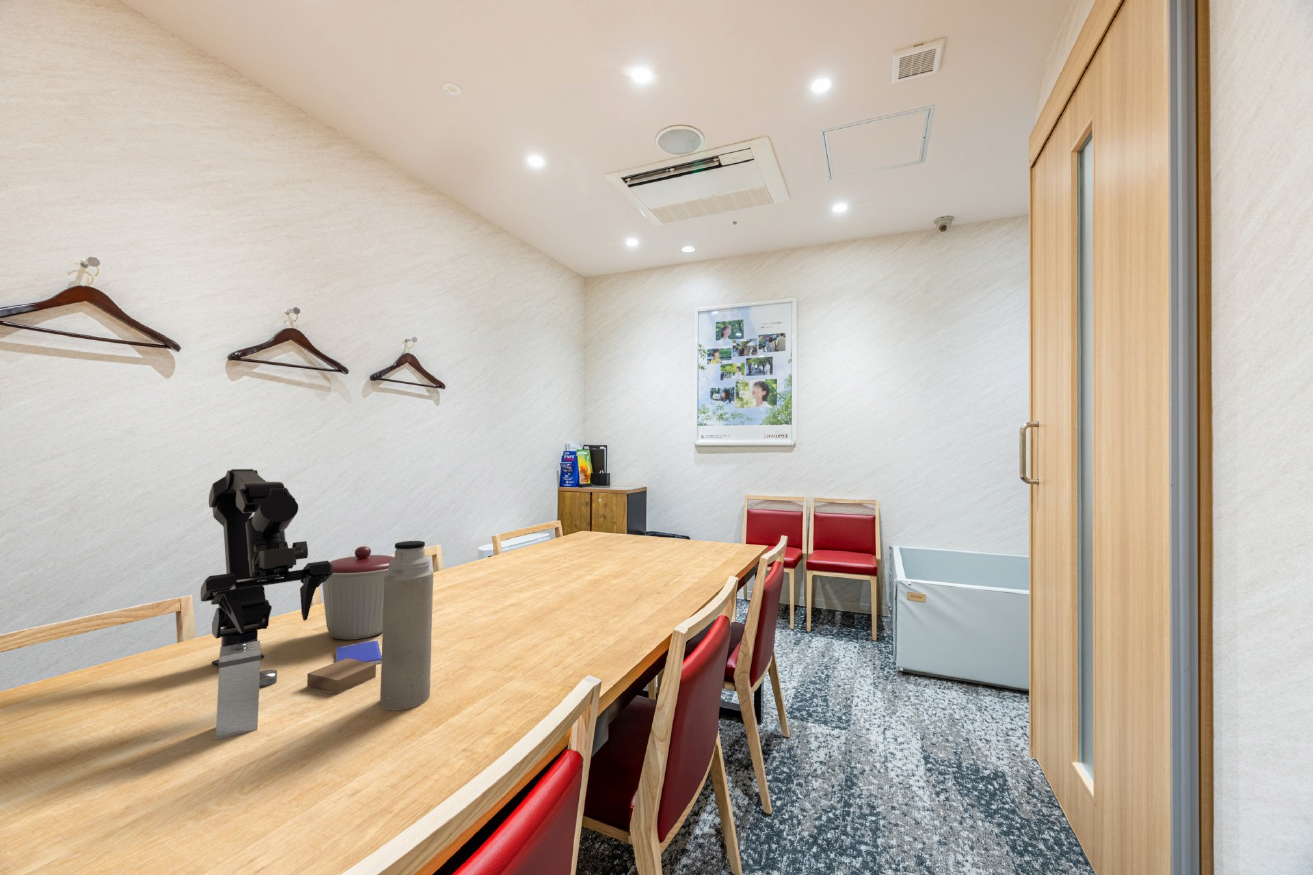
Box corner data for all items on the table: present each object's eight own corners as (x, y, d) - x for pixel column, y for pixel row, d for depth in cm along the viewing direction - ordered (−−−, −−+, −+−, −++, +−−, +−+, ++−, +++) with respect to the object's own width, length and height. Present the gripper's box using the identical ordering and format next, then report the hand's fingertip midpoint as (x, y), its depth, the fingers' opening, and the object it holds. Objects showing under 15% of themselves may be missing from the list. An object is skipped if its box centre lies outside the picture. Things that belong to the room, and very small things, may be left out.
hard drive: (336, 646, 113) (336, 666, 102) (377, 639, 117) (382, 657, 107) (335, 653, 113) (336, 674, 102) (377, 646, 117) (382, 665, 107)
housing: (216, 726, 81) (220, 643, 81) (256, 716, 84) (260, 636, 85) (215, 740, 77) (219, 652, 78) (257, 729, 80) (261, 645, 81)
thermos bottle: (405, 686, 96) (410, 537, 97) (439, 693, 93) (444, 539, 94) (369, 705, 88) (374, 543, 89) (405, 713, 85) (410, 546, 87)
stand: (307, 686, 95) (307, 673, 95) (346, 670, 103) (346, 657, 103) (337, 694, 92) (338, 680, 92) (375, 676, 100) (376, 663, 100)
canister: (379, 616, 137) (382, 538, 138) (415, 630, 126) (418, 545, 127) (302, 635, 122) (306, 547, 123) (335, 652, 112) (339, 556, 113)
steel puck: (244, 688, 95) (244, 677, 95) (263, 679, 98) (263, 668, 99) (264, 689, 94) (264, 678, 94) (282, 680, 98) (282, 669, 98)
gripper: (210, 532, 84) (215, 625, 79) (336, 522, 98) (348, 600, 93) (198, 556, 90) (202, 645, 85) (318, 543, 104) (329, 618, 99)
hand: (275, 625), depth 90 cm, fingers open, 9 cm apart
